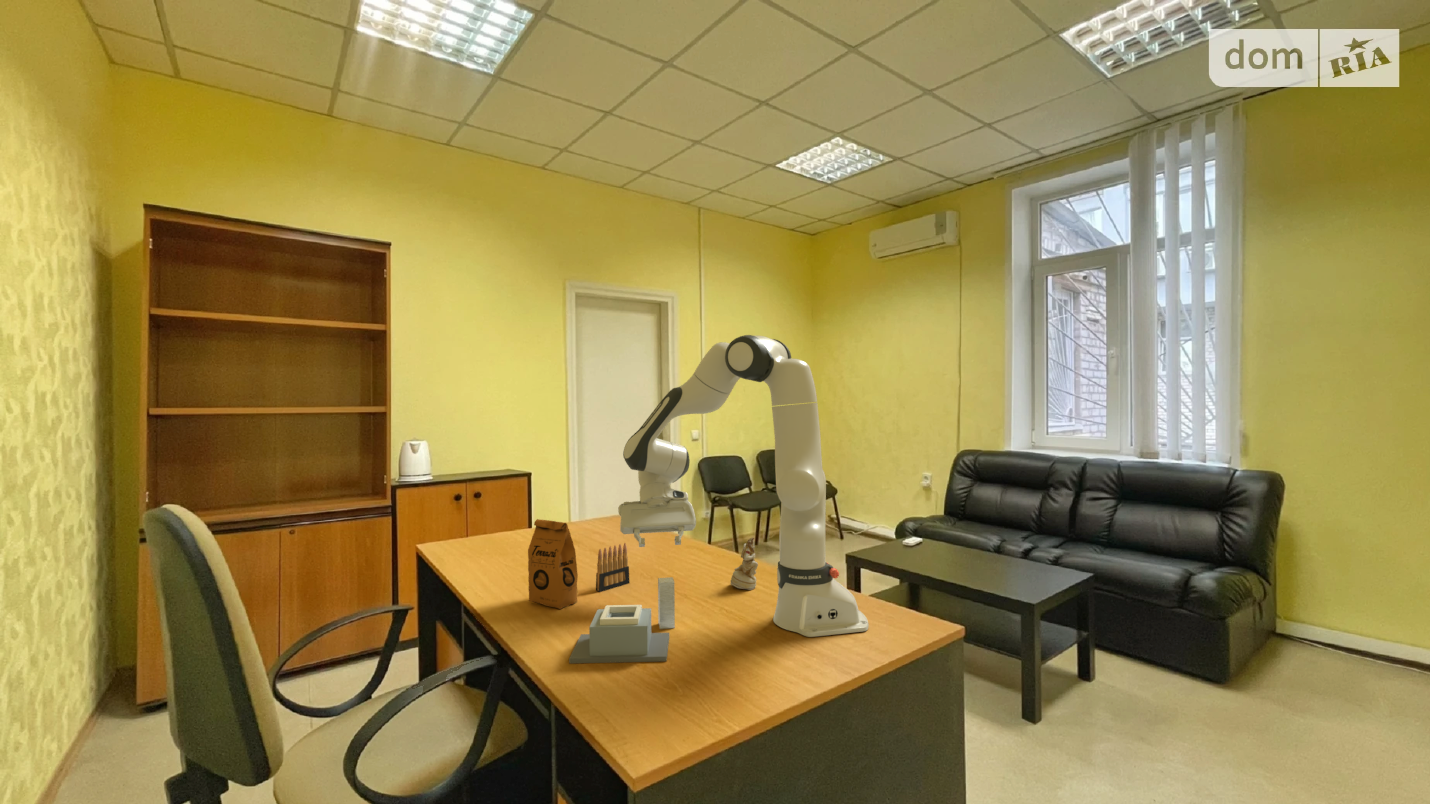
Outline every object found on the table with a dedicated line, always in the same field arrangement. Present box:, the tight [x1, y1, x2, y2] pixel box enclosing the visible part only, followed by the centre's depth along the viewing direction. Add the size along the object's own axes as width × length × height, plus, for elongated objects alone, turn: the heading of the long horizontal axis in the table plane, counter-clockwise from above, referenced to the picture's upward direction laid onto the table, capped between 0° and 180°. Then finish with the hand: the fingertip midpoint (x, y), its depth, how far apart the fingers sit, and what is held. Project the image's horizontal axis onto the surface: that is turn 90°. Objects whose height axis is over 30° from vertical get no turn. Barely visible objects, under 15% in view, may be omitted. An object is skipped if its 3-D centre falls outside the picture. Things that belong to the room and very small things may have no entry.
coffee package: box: [527, 518, 579, 610], centre depth 152 cm, size 10×12×22 cm
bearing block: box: [568, 607, 670, 664], centre depth 123 cm, size 20×12×7 cm, turn 92°
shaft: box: [657, 576, 676, 630], centre depth 136 cm, size 4×4×11 cm
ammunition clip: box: [595, 542, 631, 593], centre depth 164 cm, size 11×2×12 cm, turn 137°
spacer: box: [600, 604, 643, 625], centre depth 123 cm, size 8×8×1 cm
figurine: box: [730, 537, 759, 591], centre depth 164 cm, size 7×7×15 cm
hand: (660, 544), depth 148 cm, fingers open, 8 cm apart
